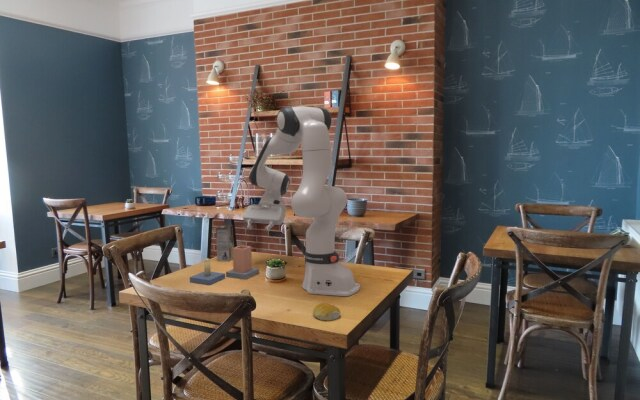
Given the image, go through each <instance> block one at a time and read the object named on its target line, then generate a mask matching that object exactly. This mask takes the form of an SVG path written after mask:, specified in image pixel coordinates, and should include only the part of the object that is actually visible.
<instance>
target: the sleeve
mask: <svg viewBox="0 0 640 400" xmlns="http://www.w3.org/2000/svg"><path fill="white" fill-rule="evenodd" d="M252 257H253V256H252V246H251V245H250V246H249V245H237V246H234V248H233V258H232V266H233V267H232V269H233V271H235V272H242V273H245V272H247V271H249V270H252V268H253V266H252V264H253V262H252V260H253V259H252Z"/></svg>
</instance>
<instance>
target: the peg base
mask: <svg viewBox="0 0 640 400" xmlns="http://www.w3.org/2000/svg"><path fill="white" fill-rule="evenodd" d="M203 267H204V271H202V272H200V273H197V274H194V275H192V276H190V277H189V282H190V283H193V284H194V283H195V284H199V283H200V284H201V285H206V286H207V285H208V286H211V285H213V284H215V283H218V282H220V281H222V280H224V279H226V273H224V272H217V271H211V259H210V258H208V257H207V258H204V260H203Z"/></svg>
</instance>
